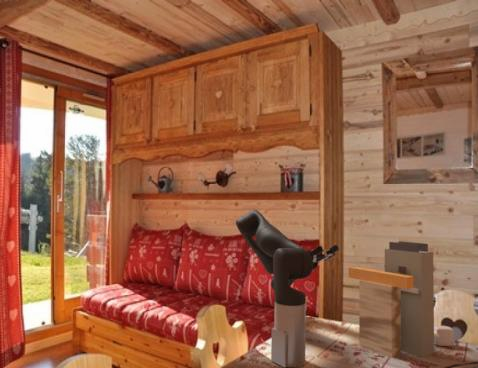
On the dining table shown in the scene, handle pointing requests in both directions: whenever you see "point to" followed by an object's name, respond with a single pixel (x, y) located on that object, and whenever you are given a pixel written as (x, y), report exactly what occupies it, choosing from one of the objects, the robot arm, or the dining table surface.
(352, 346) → the dining table surface
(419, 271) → the case
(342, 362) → the dining table surface
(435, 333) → the power adapter
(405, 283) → the orange block
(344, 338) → the dining table surface
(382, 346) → the birch block
